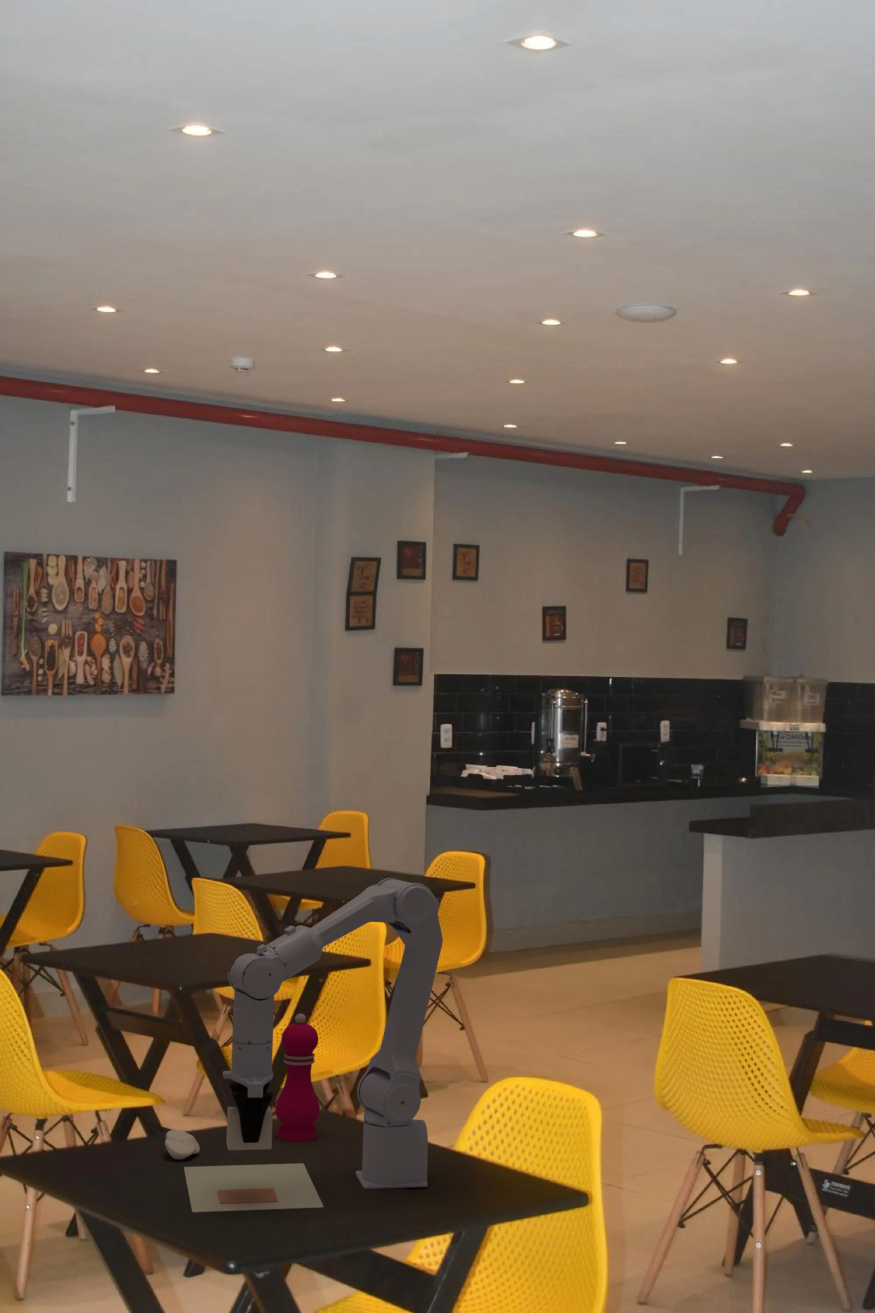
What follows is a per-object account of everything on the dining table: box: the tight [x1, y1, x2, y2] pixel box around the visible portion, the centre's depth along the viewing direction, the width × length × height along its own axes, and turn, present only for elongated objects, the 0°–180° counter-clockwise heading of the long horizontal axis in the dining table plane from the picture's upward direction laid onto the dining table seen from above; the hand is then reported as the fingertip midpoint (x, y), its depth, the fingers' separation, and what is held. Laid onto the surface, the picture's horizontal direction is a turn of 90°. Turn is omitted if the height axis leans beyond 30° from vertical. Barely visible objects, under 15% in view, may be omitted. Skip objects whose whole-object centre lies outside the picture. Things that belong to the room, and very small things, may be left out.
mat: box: [183, 1162, 324, 1213], centre depth 222 cm, size 18×22×1 cm
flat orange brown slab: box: [217, 1188, 278, 1204], centre depth 217 cm, size 8×6×1 cm
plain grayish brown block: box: [226, 1105, 274, 1151], centre depth 218 cm, size 4×6×5 cm, turn 101°
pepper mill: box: [274, 1013, 321, 1142], centre depth 251 cm, size 7×7×20 cm
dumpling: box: [164, 1129, 201, 1161], centre depth 237 cm, size 7×5×4 cm
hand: (249, 1138), depth 218 cm, fingers closed on plain grayish brown block, 4 cm apart
